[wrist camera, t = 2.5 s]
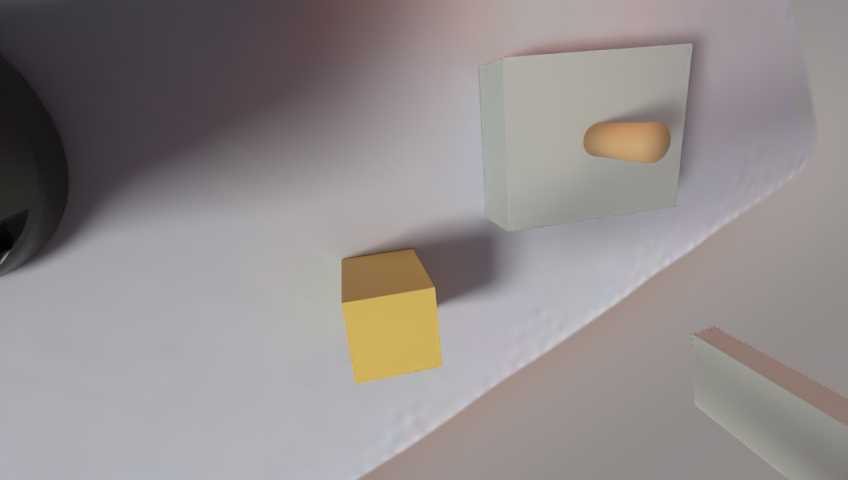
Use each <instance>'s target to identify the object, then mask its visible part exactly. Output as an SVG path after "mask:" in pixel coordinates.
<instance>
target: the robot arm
mask: <svg viewBox="0 0 848 480" xmlns="http://www.w3.org/2000/svg"><path fill="white" fill-rule="evenodd" d="M67 189H68V175H67V165H66V159H65V155H64V150H63V147H62V144H61V141H60V138H59V135H58V133H57V130H56V128H55V126H54V124H53V122H52V120H51V118H50V116H49V114H48V112H47V111H46V109H45V107H44V106H43V104H42V103H41V101H40V100H39V98H38V97H37V95H36V94H35V93H34V91H33V90H32V89H31V88H30V86H29V85H28V84H27V83H26V82H25V80H24V79H23V78H22V77H21V76H20V75H19V74H18V73H17V72H16V71H15V70H14V69H13V68H12V67H11V66H10V65H9V64H8V63H7V62H6V61H5V60H4V59H3V58H2V57H1V56H0V276H1V275H4V274H6V273H8V272H10V271H12V270H14V269H15V268H17V267H19V266H21V265H22V264H23V263H25V262H26V261H28V260H29V259H30V258H32V257H33V256H34V255H35V254H36V253H37V252H38V251H39V250H40V249H41V248H42V247H43V246H44V245H45V244H46V243H47V241H48V240H49V239H50V237H51V236H52V234H53V233H54V231H55V229H56V227H57V226H58V224H59V221H60V219H61V217H62V214H63V211H64V207H65V203H66V198H67ZM692 340H693V341H692V342H693V374H694V404H695V405H696V406H697V407H698V408H700V409H701V410H702V411H703V412H705V413H706V414H707V415H708V416H710V417H711V418H712V419H713V420H715V421H716V422H717V423H718V424H720V425H721V426H722V427H724V428H725V429H726V430H727V431H729V432H730V433H731V434H732V435H734V436H735V437H736V438H738V439H739V440H740V441H741V442H742V443H744V444H745V445H746V446H747V447H749V448H750V449H751V450H753V451H754V452H755V453H756V454H758V455H759V456H760V457H761V458H763V459H764V460H765V461H766V462H768V463H769V464H770V465H771V466H773V467H774V468H775V469H777V470H778V471H779V472H780V473H782V474H783V475H784V476H785V477H786V478H788V479H789V480H848V399H847V398H845V397H843V396H842V395H840V394H838V393H836V392H834V391H832V390H830V389H829V388H827V387H825V386H823V385H821V384H819V383H817V382H816V381H814V380H812V379H810V378H808V377H806V376H805V375H803V374H801V373H799V372H797V371H795V370H793V369H792V368H790V367H788V366H786V365H784V364H782V363H780V362H778V361H777V360H775V359H773V358H771V357H769V356H768V355H766V354H764V353H762V352H760V351H758V350H756V349H755V348H753V347H751V346H749V345H747V344H745V343H743V342H742V341H740V340H738V339H736V338H734V337H732V336H731V335H729V334H727V333H725V332H723V331H721V330H719V329H718V328H716V327H711V328H708V329H706V330H703V331H700V332H697V333H694V334H692Z"/></svg>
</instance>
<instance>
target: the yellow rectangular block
mask: <svg viewBox="0 0 848 480" xmlns="http://www.w3.org/2000/svg"><path fill="white" fill-rule="evenodd" d="M342 308H343V314H344V320H345V326H346V332H347V337H348V343H349V349H350V355H351V361H352V366H353V372H354V378H355V384H358V383H362V382H367V381H372V380H377V379H382V378H387V377H392V376H397V375H402V374H407V373H411V372H416V371H421V370H426V369H431V368H436V367H441V366H442V358H441V347H440V336H439V325H438V314H437V303H436V292H435V286H434V285H433V283H432V281H431V279H430V278H429V276H428V274H427V272H426V271H425V269H424V267H423V265H422V264H421V262H420V260H419V258H418V257H417V255H416V253H415V251H414V250H413V249H407V250H401V251H394V252H387V253H381V254H374V255H368V256H361V257H355V258H348V259H342Z"/></svg>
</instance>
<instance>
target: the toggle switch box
mask: <svg viewBox="0 0 848 480" xmlns="http://www.w3.org/2000/svg"><path fill="white" fill-rule="evenodd" d="M692 45H693V43H689V44H675V45H662V46H648V47H635V48H621V49H608V50H595V51H581V52H568V53H554V54H541V55H527V56H514V57H502V58H500V59H498V60H495V61H493V62H490V63H488V64H485V65H483V66H481V67H479V80H480V102H481V124H482V146H483V167H484V189H485V211H486V218H487V219H489V220H490V221H492V222H493V223H495V224H496V225H498V226H500V227H501V228H503V229H504V230H506V231H507V232H511V231H518V230H524V229H531V228H538V227H544V226H551V225H558V224H564V223H571V222H577V221H584V220H591V219H597V218H604V217H610V216H617V215H624V214H630V213H637V212H644V211H650V210H657V209H663V208H670V207H676V200H677V190H678V181H679V171H680V161H681V152H682V142H683V132H684V123H685V113H686V103H687V94H688V84H689V74H690V65H691V55H692Z"/></svg>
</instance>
